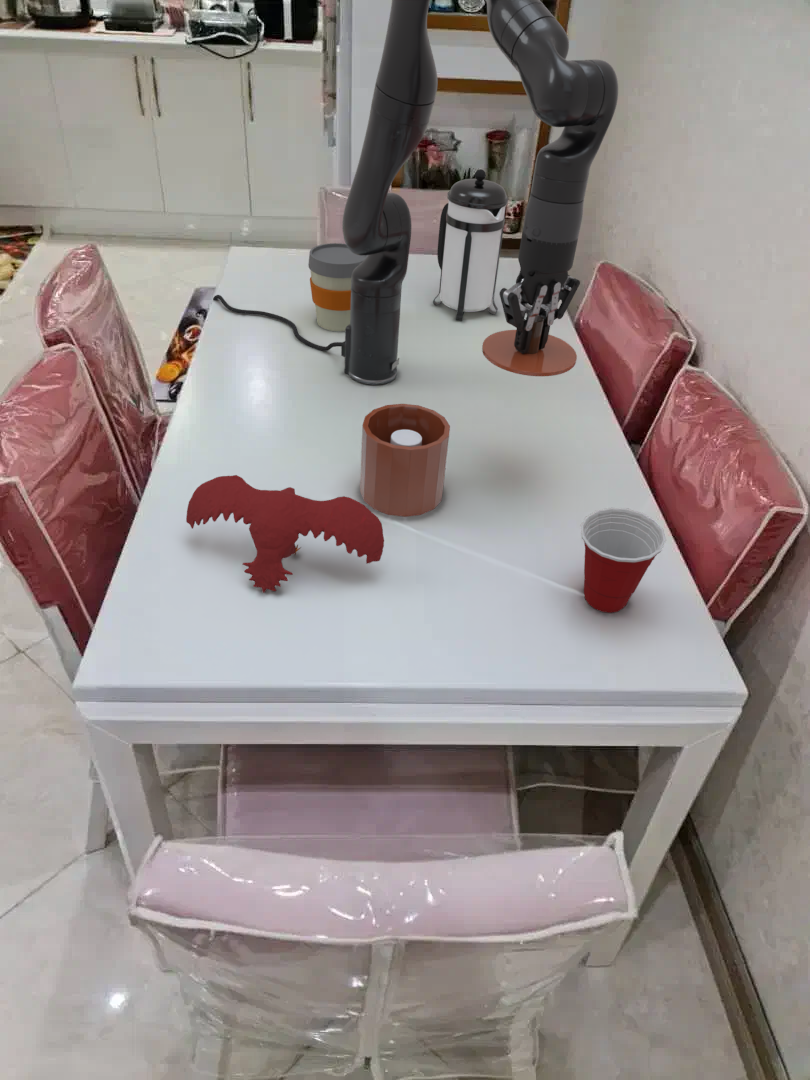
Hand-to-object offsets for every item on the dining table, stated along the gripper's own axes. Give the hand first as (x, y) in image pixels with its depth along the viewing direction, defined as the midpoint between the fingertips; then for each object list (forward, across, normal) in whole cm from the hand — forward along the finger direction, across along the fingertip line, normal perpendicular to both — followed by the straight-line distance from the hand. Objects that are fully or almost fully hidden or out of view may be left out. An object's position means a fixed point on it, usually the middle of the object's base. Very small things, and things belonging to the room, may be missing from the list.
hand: (529, 348), depth 120 cm
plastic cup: (+22, +8, +30) cm, 38 cm away
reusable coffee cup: (+23, -5, -63) cm, 67 cm away
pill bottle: (+22, +18, -4) cm, 29 cm away
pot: (+22, +19, -4) cm, 29 cm away
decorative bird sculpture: (+23, +43, +2) cm, 49 cm away
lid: (+1, 0, 0) cm, 1 cm away
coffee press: (+23, -35, -58) cm, 71 cm away
